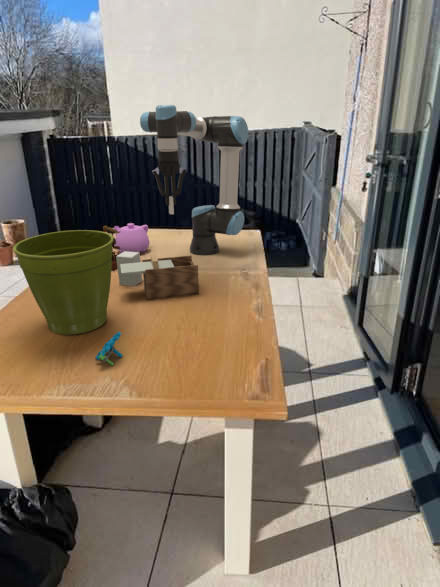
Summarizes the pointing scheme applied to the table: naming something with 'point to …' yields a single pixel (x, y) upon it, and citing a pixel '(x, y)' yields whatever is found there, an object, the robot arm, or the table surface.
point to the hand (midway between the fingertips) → (171, 213)
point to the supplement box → (124, 259)
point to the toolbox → (172, 279)
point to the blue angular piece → (108, 347)
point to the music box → (114, 260)
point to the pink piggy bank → (132, 238)
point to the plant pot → (69, 277)
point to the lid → (144, 266)
